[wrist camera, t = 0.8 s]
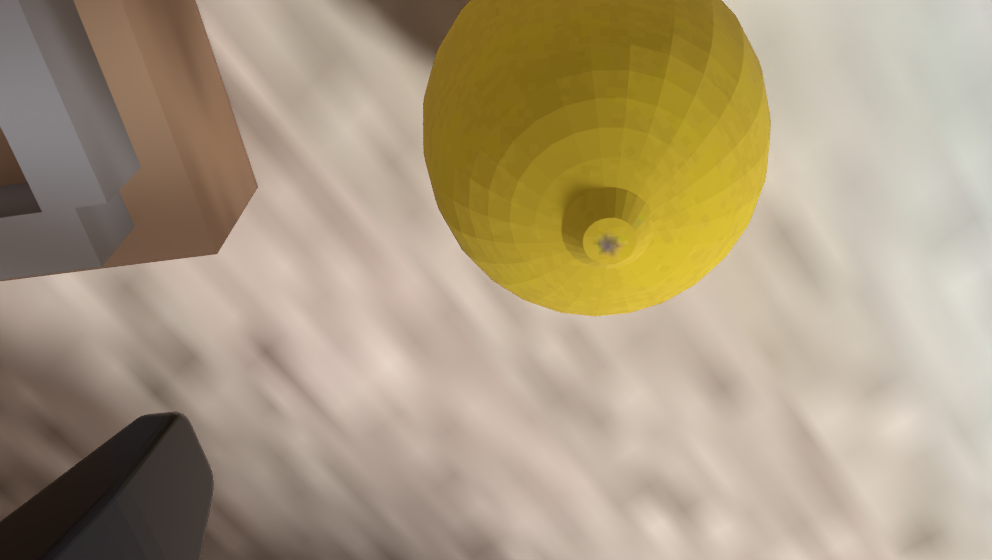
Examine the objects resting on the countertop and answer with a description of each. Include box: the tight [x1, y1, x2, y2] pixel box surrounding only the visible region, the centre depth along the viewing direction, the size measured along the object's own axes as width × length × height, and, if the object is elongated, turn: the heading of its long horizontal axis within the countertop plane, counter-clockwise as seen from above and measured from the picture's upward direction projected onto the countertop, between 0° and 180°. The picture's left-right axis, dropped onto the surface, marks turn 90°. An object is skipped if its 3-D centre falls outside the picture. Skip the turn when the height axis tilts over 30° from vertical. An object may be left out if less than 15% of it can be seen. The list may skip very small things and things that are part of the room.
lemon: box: [423, 0, 771, 316], centre depth 14 cm, size 6×6×8 cm
